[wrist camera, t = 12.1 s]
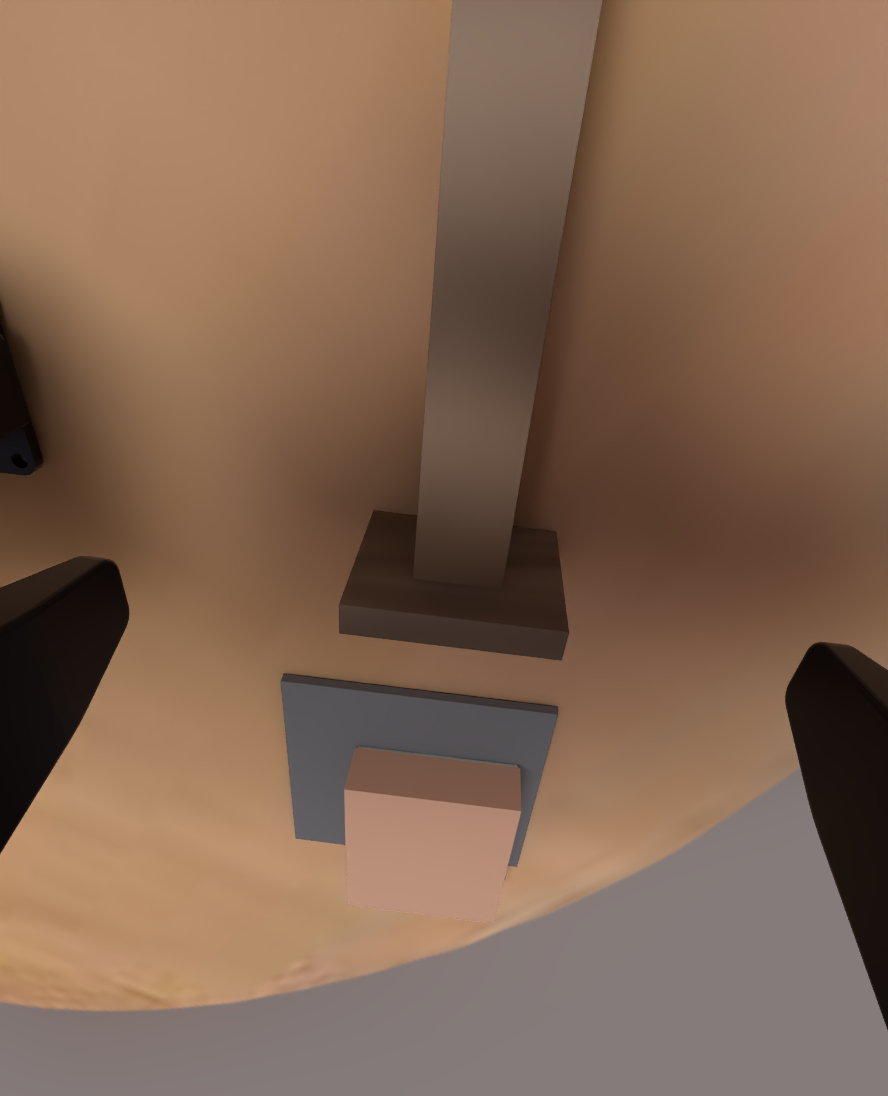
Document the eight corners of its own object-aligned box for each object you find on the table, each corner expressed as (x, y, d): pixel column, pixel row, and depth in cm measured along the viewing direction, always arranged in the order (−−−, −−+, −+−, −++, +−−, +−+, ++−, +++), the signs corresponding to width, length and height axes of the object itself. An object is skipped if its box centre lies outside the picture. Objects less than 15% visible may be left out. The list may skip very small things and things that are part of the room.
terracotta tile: (355, 744, 26) (356, 860, 31) (344, 789, 24) (346, 905, 29) (520, 763, 26) (494, 877, 31) (521, 811, 24) (493, 923, 29)
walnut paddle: (389, -163, 12) (324, -332, 8) (701, -136, 12) (810, -295, 7) (373, 535, 21) (339, 633, 16) (550, 555, 20) (561, 660, 16)
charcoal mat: (298, 830, 31) (295, 838, 30) (283, 673, 24) (280, 681, 24) (516, 858, 30) (516, 866, 30) (557, 707, 24) (558, 714, 24)
